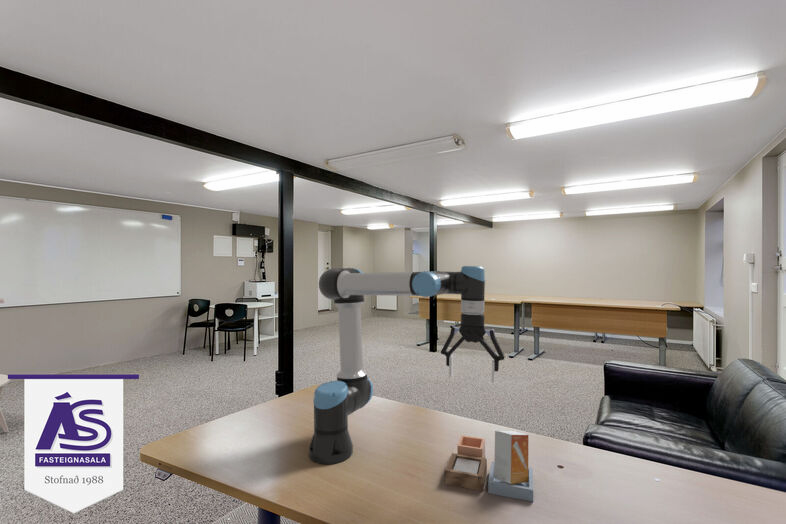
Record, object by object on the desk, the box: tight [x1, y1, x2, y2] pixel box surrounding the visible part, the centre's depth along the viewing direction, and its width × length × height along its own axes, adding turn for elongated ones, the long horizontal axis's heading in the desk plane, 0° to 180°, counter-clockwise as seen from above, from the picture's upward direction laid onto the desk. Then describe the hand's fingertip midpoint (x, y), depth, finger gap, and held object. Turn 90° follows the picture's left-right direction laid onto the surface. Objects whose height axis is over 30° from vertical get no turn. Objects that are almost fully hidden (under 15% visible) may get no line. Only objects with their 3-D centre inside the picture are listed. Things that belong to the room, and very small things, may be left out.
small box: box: [493, 430, 529, 484], centre depth 110 cm, size 8×6×13 cm
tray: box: [487, 461, 534, 502], centre depth 109 cm, size 12×12×3 cm
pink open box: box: [456, 434, 486, 458], centre depth 124 cm, size 8×8×6 cm
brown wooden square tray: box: [444, 452, 488, 492], centre depth 113 cm, size 11×11×4 cm
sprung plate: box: [453, 458, 480, 474], centre depth 113 cm, size 7×8×1 cm
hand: (471, 378), depth 120 cm, fingers open, 13 cm apart
